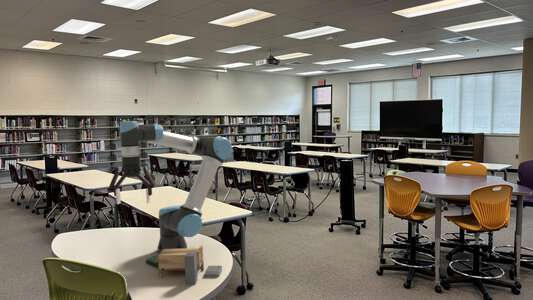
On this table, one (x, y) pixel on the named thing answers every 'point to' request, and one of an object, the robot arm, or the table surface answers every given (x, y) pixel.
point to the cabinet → (178, 259)
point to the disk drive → (153, 262)
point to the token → (213, 271)
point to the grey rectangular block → (191, 268)
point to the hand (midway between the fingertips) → (133, 203)
